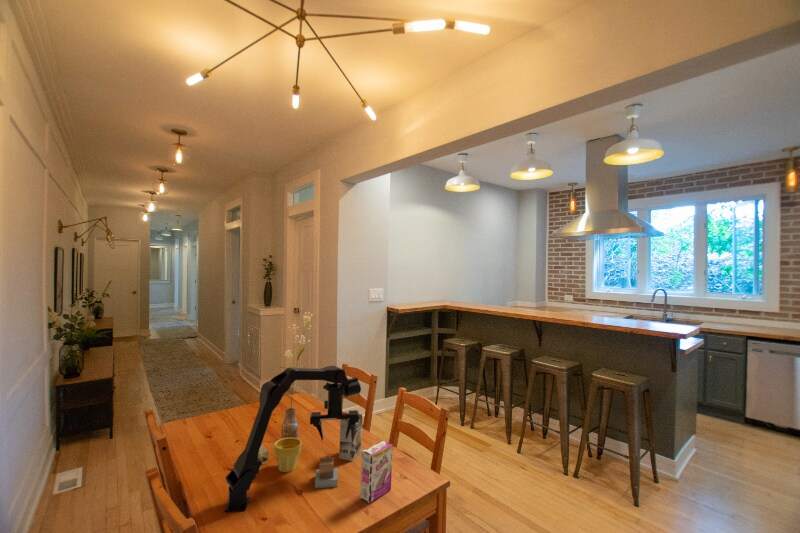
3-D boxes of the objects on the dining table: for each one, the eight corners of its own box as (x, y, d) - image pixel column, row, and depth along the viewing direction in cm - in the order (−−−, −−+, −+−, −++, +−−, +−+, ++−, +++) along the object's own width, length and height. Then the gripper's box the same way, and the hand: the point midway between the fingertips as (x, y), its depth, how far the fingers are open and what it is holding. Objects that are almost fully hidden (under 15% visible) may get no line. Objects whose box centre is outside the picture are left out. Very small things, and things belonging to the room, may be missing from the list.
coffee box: (352, 461, 152) (353, 422, 152) (338, 458, 154) (339, 419, 154) (362, 451, 160) (362, 414, 160) (348, 449, 162) (349, 412, 162)
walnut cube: (333, 477, 135) (333, 463, 135) (319, 478, 134) (319, 464, 134) (333, 470, 140) (333, 457, 140) (320, 471, 139) (320, 457, 139)
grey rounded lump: (254, 477, 145) (262, 460, 144) (233, 463, 147) (241, 446, 146) (268, 465, 155) (276, 448, 154) (248, 451, 157) (256, 435, 156)
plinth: (337, 486, 134) (337, 479, 134) (314, 488, 132) (314, 481, 132) (337, 474, 142) (337, 467, 142) (316, 476, 140) (316, 469, 140)
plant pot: (299, 459, 153) (300, 435, 153) (302, 472, 143) (303, 446, 143) (273, 463, 149) (273, 439, 149) (274, 477, 139) (274, 450, 139)
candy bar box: (370, 504, 124) (371, 455, 124) (359, 498, 127) (360, 450, 127) (392, 490, 132) (393, 443, 133) (381, 484, 135) (382, 439, 136)
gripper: (357, 391, 155) (357, 429, 155) (312, 393, 152) (311, 431, 151) (359, 400, 144) (358, 441, 144) (310, 402, 141) (309, 444, 140)
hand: (334, 439), depth 145 cm, fingers open, 9 cm apart
